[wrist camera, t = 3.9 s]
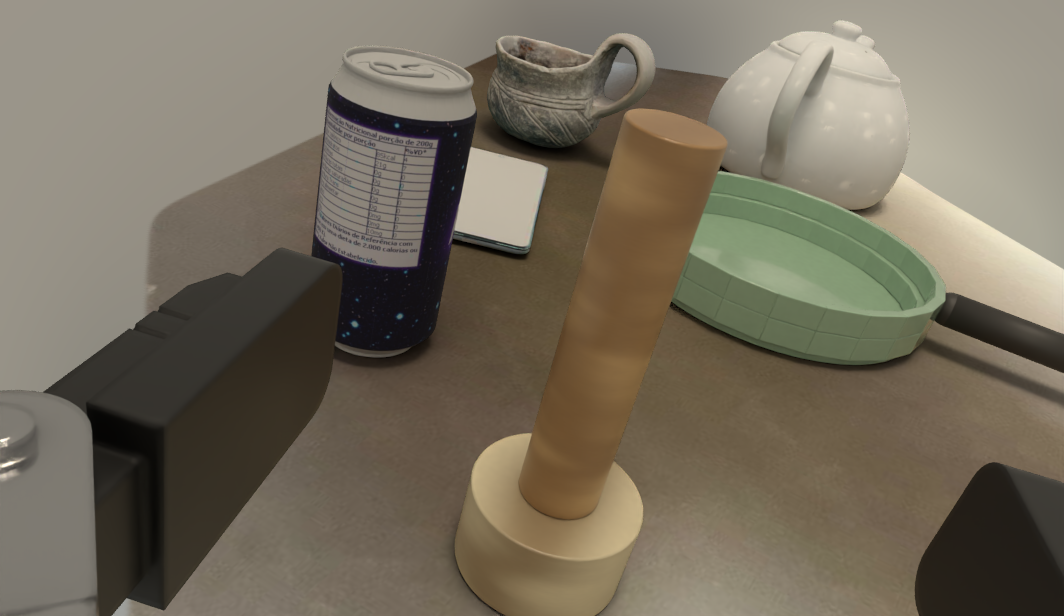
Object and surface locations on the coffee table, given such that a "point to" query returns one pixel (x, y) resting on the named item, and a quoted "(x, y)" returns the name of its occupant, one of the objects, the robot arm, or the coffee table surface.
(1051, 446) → the coffee table surface
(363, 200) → the beverage can
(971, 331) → the pan handle
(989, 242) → the coffee table surface
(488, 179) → the smartphone
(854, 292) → the pan
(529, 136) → the mug
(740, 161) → the teapot
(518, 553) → the brush
